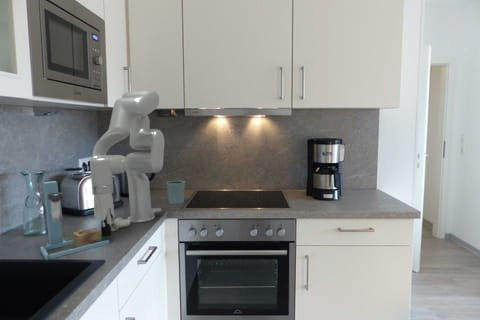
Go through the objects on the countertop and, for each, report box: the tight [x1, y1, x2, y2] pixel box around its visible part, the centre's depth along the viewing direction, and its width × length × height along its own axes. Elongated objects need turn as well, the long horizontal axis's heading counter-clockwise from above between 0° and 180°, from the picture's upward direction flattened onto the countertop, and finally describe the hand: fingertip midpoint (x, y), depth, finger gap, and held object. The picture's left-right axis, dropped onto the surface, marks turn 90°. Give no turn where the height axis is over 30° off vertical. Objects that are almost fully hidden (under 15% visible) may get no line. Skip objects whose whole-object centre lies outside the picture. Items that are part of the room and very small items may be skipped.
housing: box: [72, 227, 103, 248], centre depth 119 cm, size 8×6×6 cm
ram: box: [47, 192, 64, 222], centre depth 112 cm, size 5×5×10 cm
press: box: [40, 180, 110, 261], centre depth 117 cm, size 21×16×24 cm
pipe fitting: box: [111, 216, 131, 232], centre depth 138 cm, size 8×4×7 cm
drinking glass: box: [166, 179, 186, 205], centre depth 180 cm, size 10×10×12 cm
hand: (106, 235), depth 123 cm, fingers closed
